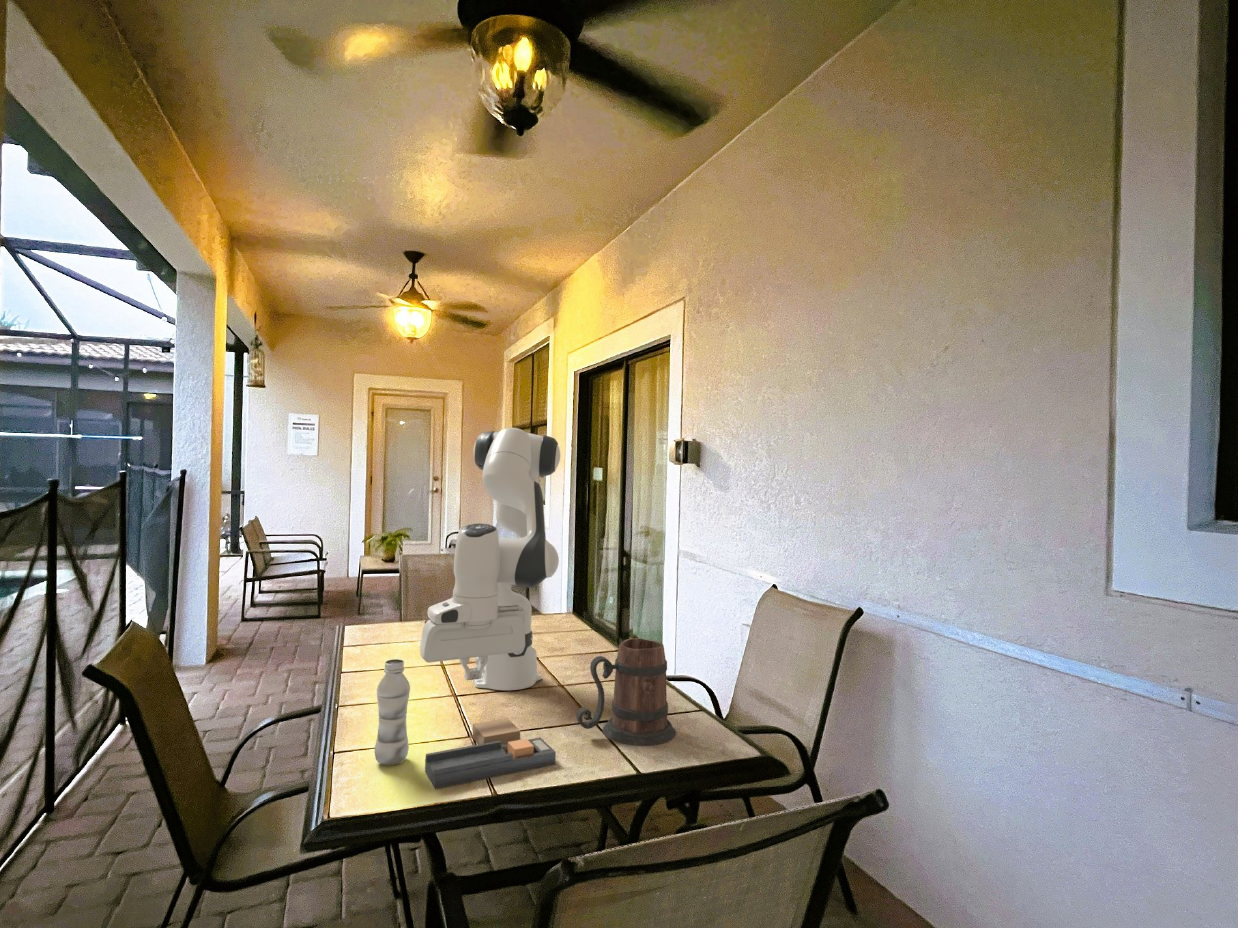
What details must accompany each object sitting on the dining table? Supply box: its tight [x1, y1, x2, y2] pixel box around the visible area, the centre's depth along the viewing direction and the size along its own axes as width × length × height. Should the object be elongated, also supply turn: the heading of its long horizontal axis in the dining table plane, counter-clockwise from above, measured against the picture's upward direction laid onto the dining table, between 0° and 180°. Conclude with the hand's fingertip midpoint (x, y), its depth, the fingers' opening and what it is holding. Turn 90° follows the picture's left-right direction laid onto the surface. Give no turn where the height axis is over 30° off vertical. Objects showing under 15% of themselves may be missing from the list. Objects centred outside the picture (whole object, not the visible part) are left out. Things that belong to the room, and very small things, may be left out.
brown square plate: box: [472, 717, 521, 745], centre depth 143 cm, size 8×8×3 cm
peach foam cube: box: [508, 738, 534, 757], centre depth 133 cm, size 4×4×4 cm
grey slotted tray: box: [424, 737, 557, 790], centre depth 130 cm, size 8×24×4 cm, turn 119°
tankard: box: [576, 637, 677, 747], centre depth 150 cm, size 24×17×20 cm
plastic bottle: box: [374, 658, 411, 766], centre depth 132 cm, size 6×7×20 cm
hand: (473, 678), depth 129 cm, fingers closed
